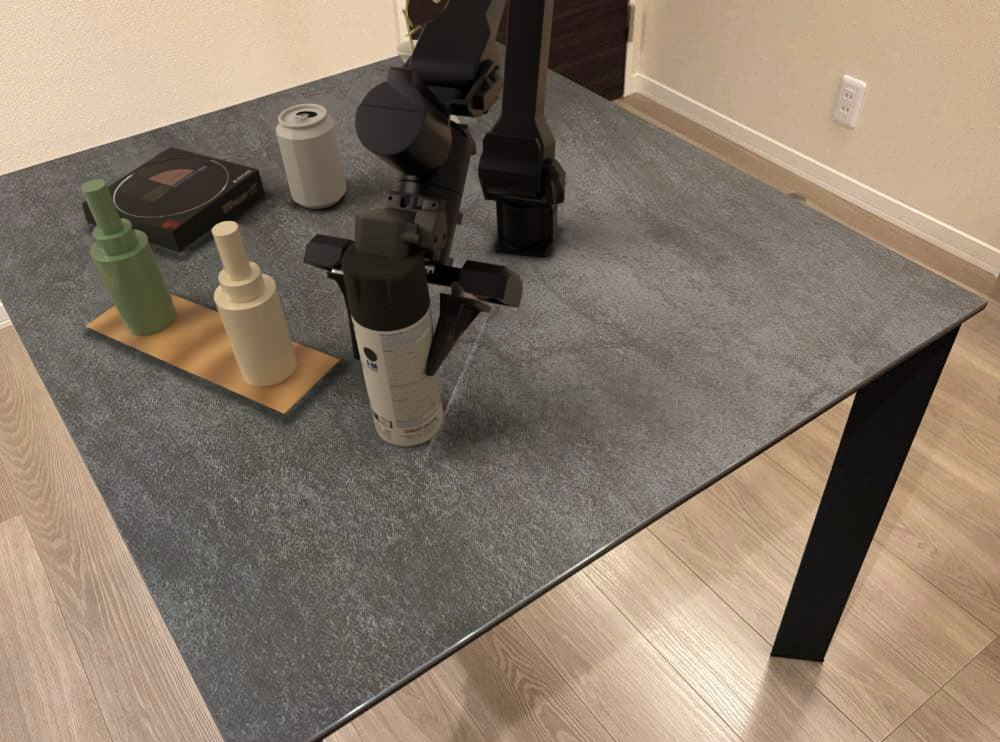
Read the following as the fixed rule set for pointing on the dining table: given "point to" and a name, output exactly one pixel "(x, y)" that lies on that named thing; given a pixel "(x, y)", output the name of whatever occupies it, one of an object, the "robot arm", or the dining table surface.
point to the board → (216, 353)
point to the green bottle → (128, 266)
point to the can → (311, 155)
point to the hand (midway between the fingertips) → (392, 367)
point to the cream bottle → (251, 313)
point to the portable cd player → (183, 196)
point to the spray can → (395, 344)
